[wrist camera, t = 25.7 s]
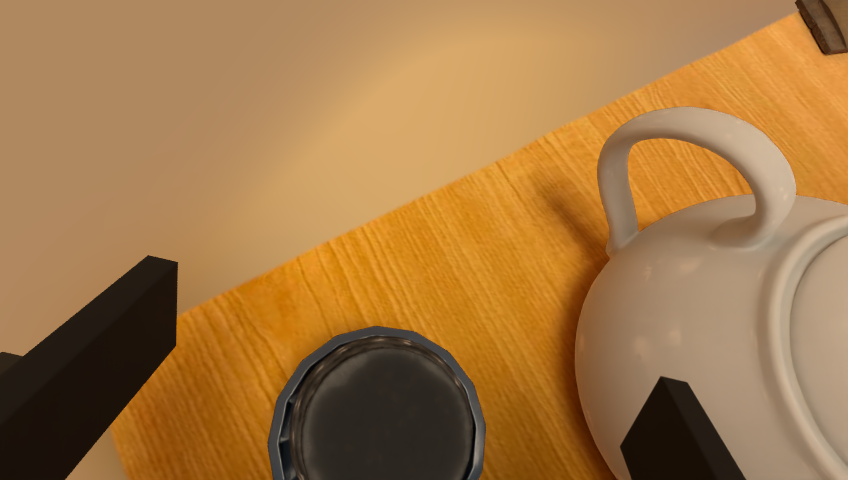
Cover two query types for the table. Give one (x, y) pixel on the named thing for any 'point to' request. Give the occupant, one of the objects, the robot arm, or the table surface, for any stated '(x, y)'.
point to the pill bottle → (381, 415)
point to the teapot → (722, 307)
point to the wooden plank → (827, 23)
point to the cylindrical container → (286, 400)
